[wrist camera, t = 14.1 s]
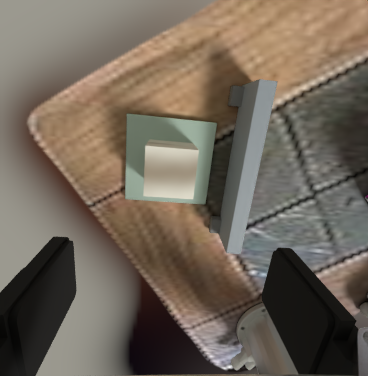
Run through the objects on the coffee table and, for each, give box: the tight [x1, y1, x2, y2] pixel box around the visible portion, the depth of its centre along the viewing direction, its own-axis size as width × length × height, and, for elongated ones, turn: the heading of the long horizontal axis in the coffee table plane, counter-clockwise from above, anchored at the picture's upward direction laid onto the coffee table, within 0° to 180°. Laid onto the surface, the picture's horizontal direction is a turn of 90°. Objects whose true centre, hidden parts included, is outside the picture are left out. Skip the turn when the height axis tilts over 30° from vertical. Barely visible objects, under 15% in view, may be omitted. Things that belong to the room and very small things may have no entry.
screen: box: [209, 79, 277, 254], centre depth 30 cm, size 22×5×6 cm, turn 174°
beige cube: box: [143, 139, 199, 199], centre depth 29 cm, size 6×6×6 cm
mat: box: [125, 114, 217, 204], centre depth 32 cm, size 12×12×1 cm
